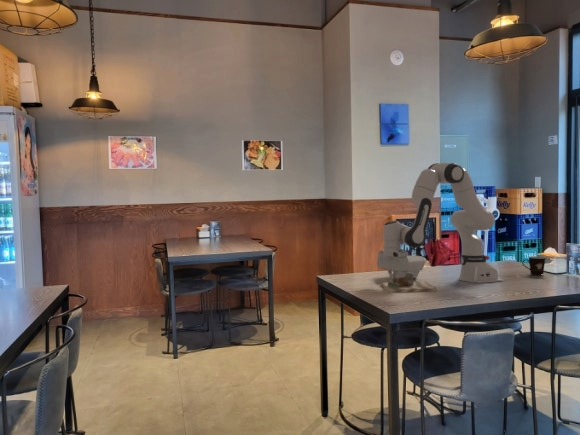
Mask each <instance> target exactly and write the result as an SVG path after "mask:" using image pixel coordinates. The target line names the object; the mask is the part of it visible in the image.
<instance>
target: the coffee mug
mask: <svg viewBox="0 0 580 435" xmlns="http://www.w3.org/2000/svg"><path fill="white" fill-rule="evenodd" d="M526 261H527V262H528V263H529V267H528V266H526V265H525V264H524V262H526ZM545 262H546V257H545V256H528V259H524V260H522V266H523V267H525V268H526V269H527V270H529V271H530V275H531V274H534V275H533V276H538V275H540V276H542V275H541V274H543V275H544V270H545Z"/></svg>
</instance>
